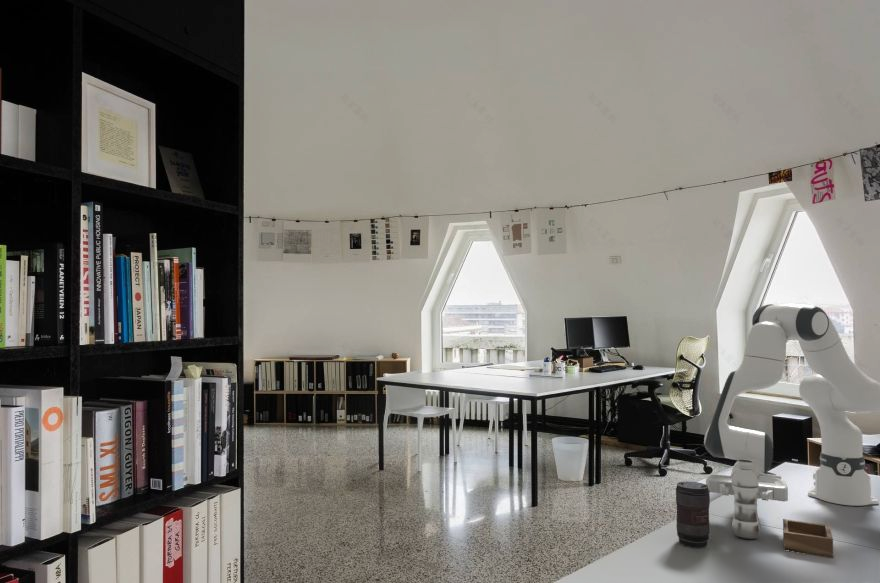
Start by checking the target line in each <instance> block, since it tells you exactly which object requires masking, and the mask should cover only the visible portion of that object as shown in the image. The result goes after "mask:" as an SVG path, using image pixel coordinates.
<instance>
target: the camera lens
mask: <svg viewBox="0 0 880 583" xmlns="http://www.w3.org/2000/svg"><path fill="white" fill-rule="evenodd" d="M710 493H711V492H709V489H708V485H706V483H702V482H697V481H679V482H677V483H676V488H675V504H676V533H677V534H676V535H677V537H678V542H679V543H680V544H681V545H682V546H684V547H687V548H692V549H701V548H702V547H703V548H705V546H706V547H707V545H708V541H709V539H710V503H711V501H710V498H711V497H710V496H711V495H710ZM703 548H702V549H703Z"/></svg>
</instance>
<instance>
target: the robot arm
mask: <svg viewBox="0 0 880 583" xmlns="http://www.w3.org/2000/svg"><path fill="white" fill-rule="evenodd" d="M751 322H752V326H751V328H750V331H749V334H748V335H747V339H746V343H745V347H744V352H743V358H742V361H741V364H740V365H739V367H738V368H737V369H736V370H734V371H731V372H730V373H729V374H728V377H727V378H726V380H725V384H724V385H723V388H722V391H721V394H720V396H719V398H718V402H717V405H716V408H715V411H714V413H713V414H714V415H713V417H712V420H711V422H710V424H709V425H708V427H707V429H706V432H705V434H704V438H703V440H704V441H703V444H704V448H705V450H706V451H707V452H708V454H709V455H711V456H712V457H715V458H722V459H729V460H735V461H736V462H735V463H734V465H733V467H732V469H731V472H730V475H723V474H709V476H707V477H706V478H705V484H706V485H708V489H709V492H710V493H714V494H722V495H723V496H730V495H731V496H734V493H733V487H732V477H733V475H734V474H735V473H736V471H737V470H738V468H737V465H738V460H750V461H753V469H752V471H753V473H754V474H755V475H756V477H757V479H758V481H759V488H758V495H757V500H758V499H761V500H762V501H767V502H768V501H769V500H770V501H779V502H788V501H789V500H788V499H789V489H788V486H787V484H786V481H784V480H783V479H782V475H781V474H778V473H773V472H770V469H771V468H772V464H773V460H774V459H773V458H774V442H773V440H772V438H771V437H770V436H769V434H768V433H767V432H764V431H761V430H755V429H749V428H744V427H739V426H733V425H730V424H728V419H729V415H730V413H731V410H732V407H733V405H734V402H735V399H736V398H737V397H738V396H739V395H742V394H744V393H747V392H752V391H759V390H764V389H768V388H771V387H773V386H775V385H776V384H778V383H779V382H780V381H781V379H782V377H783V374H784V370H785V364H786V356H787V354H786V353H787V343H788V341H798V344H799V346H800V349H801V351H802V354H803V356H804V359H805V360H806V363H807V365H808V367H809V368H810V370H812V372H813V373H815V374H810V375H806V376H805V377H803V379H801V382H800V384H799V388H798V391H799V396H800V397H801V399H802V401H803V402H804V403H805V404H807V405H808V406H809V407H810V408H811V411H813V414H814V415H815V418H816V419H817V421H818V425H819V428H820V440H821V442H820V443H821V452H819V455H820V456H819V463H820V465H819V467H818V468H816V469H815V471H813V474H812V478H813V480H815V481H814V482H813V485H812V487H811V488H810V489H809V491H808V492H807V495H808V496H809V497H813V498H816V499H818V500H821V501H823V502H824V501H825V502H827V503H832V504H837V505H843V506H844V505H845V506H856V507H857V506H859V507H860V506H868V505H879V500H878V499H877V498H876V497H874V496H873V495H872V483H871V482H872V480H871V476H870V475H869V474H868V473H867V471H865V467H866V466H865V465H866V461H865V456H864V453H863V452H864V451H863V450H864V448H863V446H864V444H863V443H864V442H863V433H862V430H861V429H860V428H859V426H858V425H856V424H854V422H852V421H851V420H850V419H849V417H848V416H847V413H853V414H854V413H855V414H863V415H864V414H876V413H879V412H880V382H879V381H877V380H875V379H873V378H871V377H870V376H868V375H866V373H865V372H863V371H862V370H861V368H859V367H858V366H857V365H856V364H855V363H854V362H853V361H852V360H851V358H850V357H849V354H848V353H847V350H846V349H845V347H844V345H843V343H842V339H841V337H840V335H839V333H838V330H837V329H836V326H835V325H834V323H833V321H832V320H831V318H830V317H829V315H828V314H827V313H826V312H825V310H824V309H823V308H822V307H820V306H816V305H813V304H800V303H784V304H783V303H781V304H779V303H778V304H772V303H771V304H765V305H762V306H759V307H758V308H757V309H756V310H755V312H754V313H753V315H752V321H751ZM846 412H847V413H846Z"/></svg>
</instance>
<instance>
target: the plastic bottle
mask: <svg viewBox="0 0 880 583" xmlns="http://www.w3.org/2000/svg"><path fill="white" fill-rule="evenodd" d="M737 461H738V465H737V468H738V470H737V471H736V473H735V474H734V475H733V477H732V487H733V493H734V495H733V500H734V502H733V503H734V507H733V518H732V524H731V526H732V527H731V528H732V532H733V533H734V535H735V536H737V538H738V537H739V538H742V539H747V540H748V539H750V540H751V539H752V540H754V539H757V538H758V537H759V536H760V532H761V526H760V521H759V515H758V499H757V495H758V488H759V481H758V479H757V477H756V475H755V474H754V473H753V471H752V469H753V461H750V460H737Z"/></svg>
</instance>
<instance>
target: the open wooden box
mask: <svg viewBox="0 0 880 583" xmlns="http://www.w3.org/2000/svg"><path fill="white" fill-rule="evenodd" d="M831 531H832V530H831V528H830V524H823V523H815V522H808V521H802V520H794V519H788V518H783V519H782V537H783V538H782V539H783V540H784V541H783V551H784V550H789V551H788V552H790V551H794V552H793V553H797V552H799V553H798V554H803V553H804V554H805V555H811V556H817V557H823V558H831V559H834V538H833V534H832V532H831Z"/></svg>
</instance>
